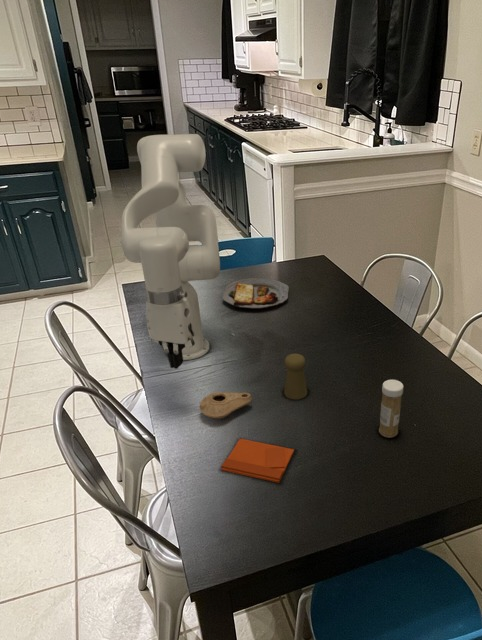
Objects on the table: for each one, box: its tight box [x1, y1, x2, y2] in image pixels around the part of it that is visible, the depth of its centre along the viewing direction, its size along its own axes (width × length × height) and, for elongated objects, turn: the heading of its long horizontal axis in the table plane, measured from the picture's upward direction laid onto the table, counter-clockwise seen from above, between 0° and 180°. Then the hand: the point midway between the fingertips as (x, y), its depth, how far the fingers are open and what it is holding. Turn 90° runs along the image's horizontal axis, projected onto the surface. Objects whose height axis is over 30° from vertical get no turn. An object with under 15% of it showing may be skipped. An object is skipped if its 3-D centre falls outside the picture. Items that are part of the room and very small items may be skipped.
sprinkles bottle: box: [378, 379, 404, 439], centre depth 113 cm, size 5×5×13 cm
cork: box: [283, 353, 308, 400], centre depth 127 cm, size 6×6×11 cm
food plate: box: [221, 277, 290, 310], centre depth 180 cm, size 25×23×4 cm
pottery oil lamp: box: [199, 391, 253, 419], centre depth 122 cm, size 9×12×7 cm
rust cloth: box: [220, 438, 295, 484], centre depth 109 cm, size 13×10×1 cm
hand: (176, 365), depth 119 cm, fingers closed
